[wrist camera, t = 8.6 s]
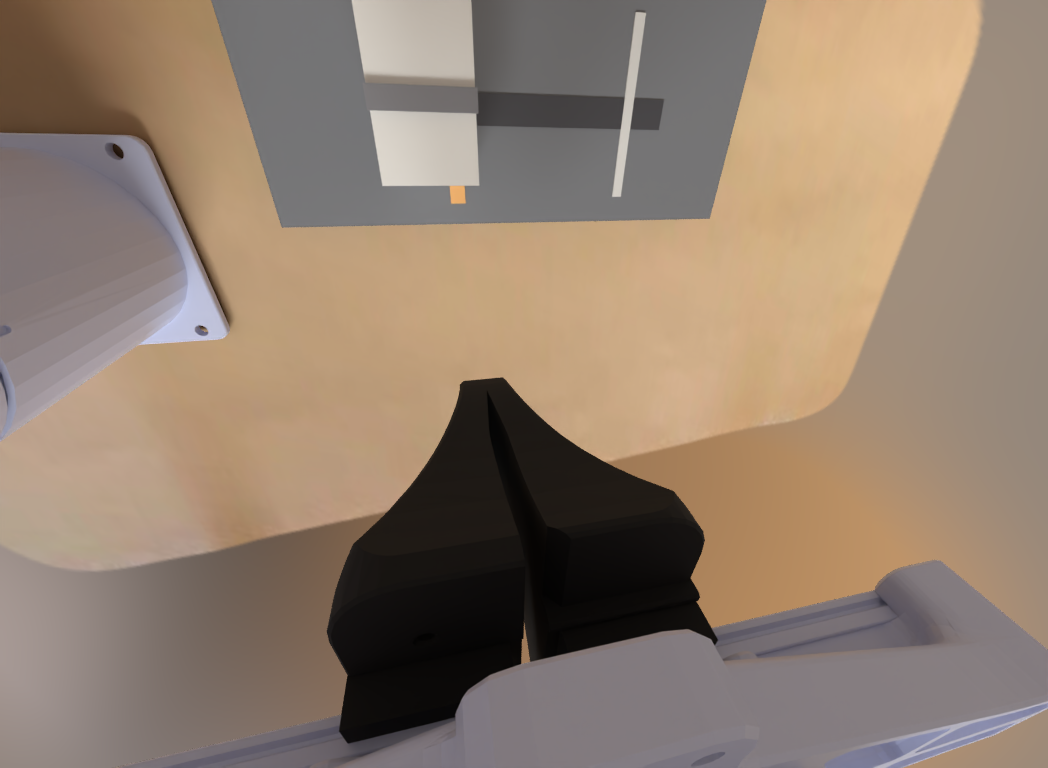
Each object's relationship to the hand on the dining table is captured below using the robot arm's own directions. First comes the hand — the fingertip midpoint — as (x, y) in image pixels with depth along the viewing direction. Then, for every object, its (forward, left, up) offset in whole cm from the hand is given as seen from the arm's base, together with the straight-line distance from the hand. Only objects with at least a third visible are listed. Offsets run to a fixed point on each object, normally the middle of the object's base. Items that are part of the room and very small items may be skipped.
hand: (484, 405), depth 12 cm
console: (+2, +8, -9) cm, 13 cm away
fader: (-1, +8, -8) cm, 11 cm away
